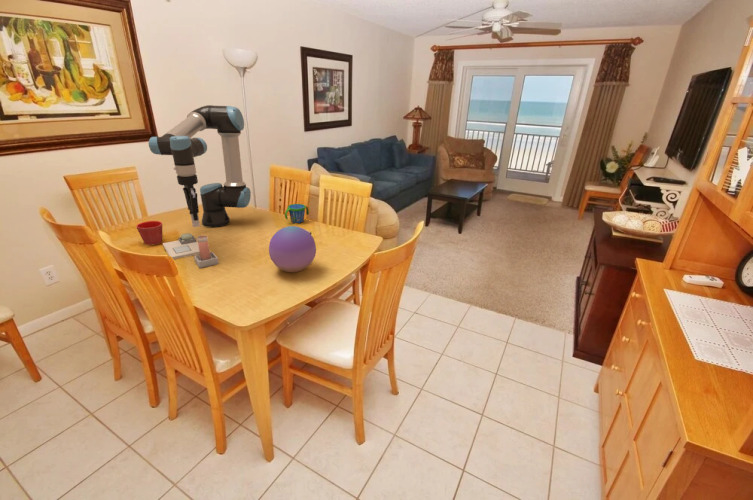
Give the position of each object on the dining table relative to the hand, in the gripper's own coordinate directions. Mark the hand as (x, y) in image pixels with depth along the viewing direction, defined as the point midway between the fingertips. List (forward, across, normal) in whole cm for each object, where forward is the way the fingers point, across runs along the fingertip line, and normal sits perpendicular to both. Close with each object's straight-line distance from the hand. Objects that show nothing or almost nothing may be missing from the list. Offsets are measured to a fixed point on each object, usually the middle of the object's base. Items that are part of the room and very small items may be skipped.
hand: (196, 226), depth 154 cm
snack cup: (+16, -19, +60) cm, 65 cm away
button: (+13, -20, -1) cm, 23 cm away
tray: (+15, +9, 0) cm, 17 cm away
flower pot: (+15, -30, -14) cm, 37 cm away
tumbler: (+14, +9, -1) cm, 17 cm away
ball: (+15, +38, +28) cm, 49 cm away
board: (+15, -13, -5) cm, 21 cm away
